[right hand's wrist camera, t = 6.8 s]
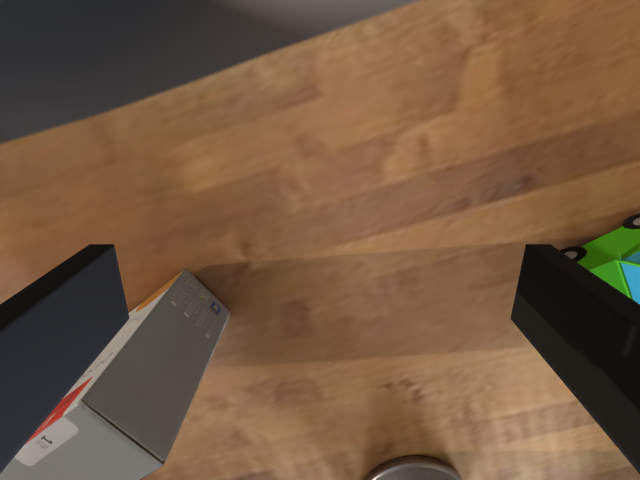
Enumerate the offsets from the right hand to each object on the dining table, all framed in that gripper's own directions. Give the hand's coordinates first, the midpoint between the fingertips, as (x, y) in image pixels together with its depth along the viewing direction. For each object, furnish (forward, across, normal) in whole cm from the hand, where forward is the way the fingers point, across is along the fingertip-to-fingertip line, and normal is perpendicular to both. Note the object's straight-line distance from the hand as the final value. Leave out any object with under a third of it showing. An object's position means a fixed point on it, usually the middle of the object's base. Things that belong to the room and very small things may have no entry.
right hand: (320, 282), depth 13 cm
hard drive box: (+28, +19, +20) cm, 39 cm away
